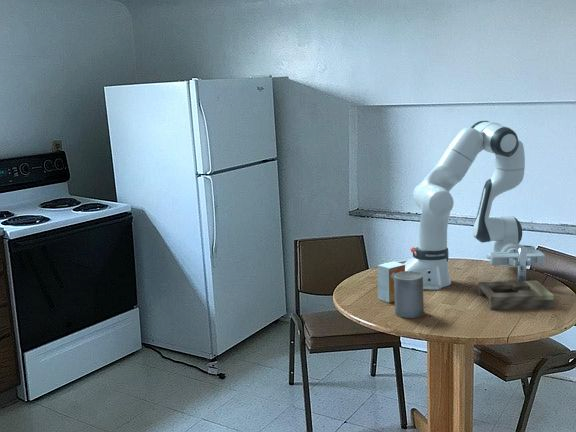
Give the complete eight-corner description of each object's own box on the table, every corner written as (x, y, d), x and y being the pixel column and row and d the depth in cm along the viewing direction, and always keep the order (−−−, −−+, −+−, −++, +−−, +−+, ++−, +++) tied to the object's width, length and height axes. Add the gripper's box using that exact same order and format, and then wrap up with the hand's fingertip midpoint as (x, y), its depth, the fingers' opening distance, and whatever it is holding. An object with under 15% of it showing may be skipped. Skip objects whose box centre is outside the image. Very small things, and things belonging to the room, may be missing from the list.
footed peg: (516, 289, 236) (516, 250, 233) (511, 284, 242) (512, 246, 239) (532, 288, 236) (533, 249, 233) (527, 283, 242) (528, 245, 239)
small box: (389, 303, 227) (388, 268, 225) (377, 299, 232) (376, 264, 230) (405, 298, 232) (405, 264, 229) (393, 294, 237) (393, 260, 234)
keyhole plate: (490, 309, 216) (491, 297, 215) (478, 294, 233) (478, 282, 232) (553, 308, 215) (553, 295, 214) (536, 292, 232) (536, 280, 231)
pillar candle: (411, 306, 223) (410, 265, 220) (429, 314, 214) (429, 272, 211) (389, 312, 218) (387, 270, 215) (406, 320, 210) (405, 277, 207)
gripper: (485, 247, 250) (494, 256, 236) (538, 246, 249) (550, 254, 235) (485, 263, 251) (494, 272, 238) (537, 261, 250) (550, 271, 237)
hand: (523, 263), depth 236 cm, fingers closed on footed peg, 3 cm apart
